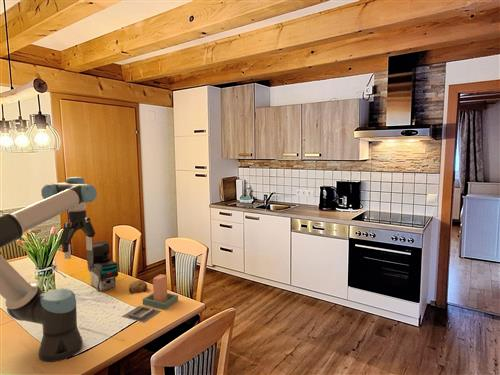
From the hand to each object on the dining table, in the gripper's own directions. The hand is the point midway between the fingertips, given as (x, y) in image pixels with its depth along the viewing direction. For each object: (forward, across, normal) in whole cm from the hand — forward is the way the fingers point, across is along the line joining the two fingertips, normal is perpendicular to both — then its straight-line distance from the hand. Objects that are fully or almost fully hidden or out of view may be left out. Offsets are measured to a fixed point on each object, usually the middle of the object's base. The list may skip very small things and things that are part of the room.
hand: (79, 254), depth 151 cm
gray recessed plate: (+31, -7, +28) cm, 42 cm away
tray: (+31, -20, +31) cm, 48 cm away
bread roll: (+31, -32, +10) cm, 46 cm away
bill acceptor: (+31, -33, -13) cm, 47 cm away
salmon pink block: (+30, -20, +31) cm, 47 cm away
